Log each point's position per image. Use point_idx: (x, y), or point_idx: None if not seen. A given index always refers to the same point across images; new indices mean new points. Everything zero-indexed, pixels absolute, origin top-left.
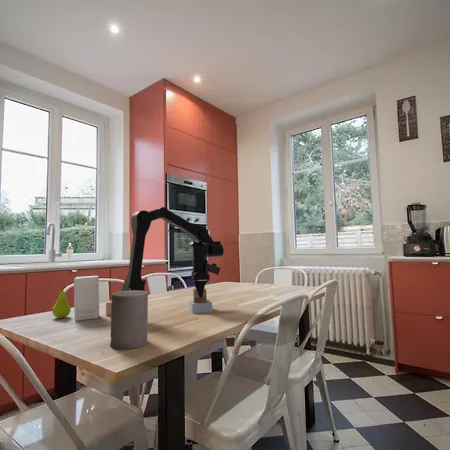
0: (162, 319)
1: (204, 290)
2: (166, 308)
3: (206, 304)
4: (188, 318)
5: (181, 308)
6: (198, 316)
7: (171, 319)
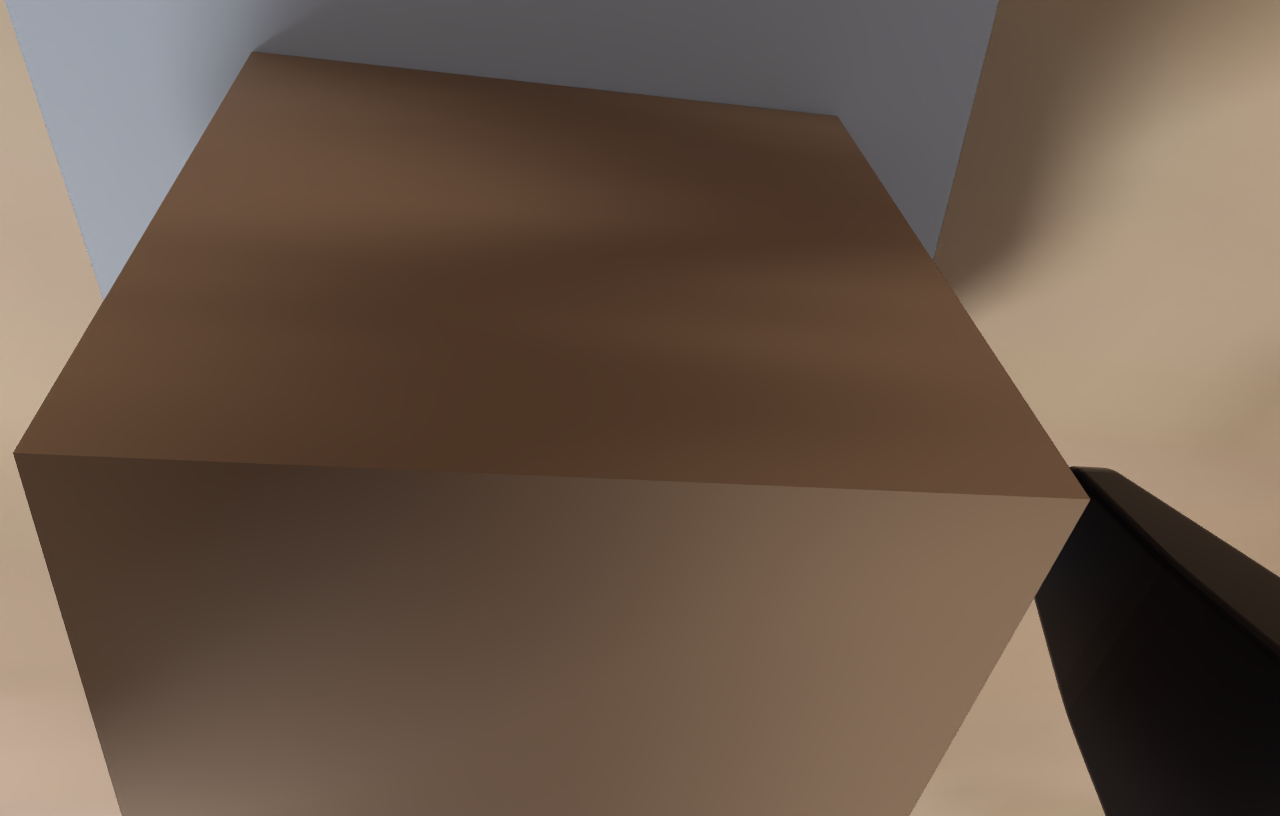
0: (977, 791)
1: (1020, 577)
2: (19, 784)
3: (945, 128)
4: (1193, 502)
5: (44, 559)
6: (1173, 315)
7: (1063, 707)
